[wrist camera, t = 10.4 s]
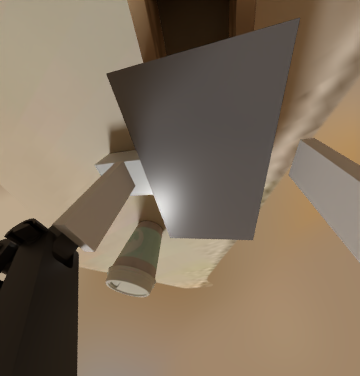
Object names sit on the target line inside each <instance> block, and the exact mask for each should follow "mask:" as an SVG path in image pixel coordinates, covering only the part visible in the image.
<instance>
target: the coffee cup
mask: <svg viewBox="0 0 360 376" xmlns="http://www.w3.org/2000/svg"><path fill="white" fill-rule="evenodd" d="M161 238H162V228H161V227H160V226H159V225H158V224H156V223H154V222H151V221H142V222H140V223H139V224H138V226H137V227H136V229H135V231H134V232H133V234H132V235H131V237H130V239H129V240H128V242H127V243H126V245H125V247H124V248H123V250H122V251H121V253H120V254H119V256H118V258H117V259H116V261H115V263H114V264H113V266H111V267H109V271H108V272H107V279H106V284H107V286H108V287H110V288H111V289H113V290H115V291H117V292H120V293H122V294H126V295H129V296H134V297H147V296H149V294H150V292H151V290H152V289H153V288H154V284H155V283H156V280H155V275H156V269H157V263H158V257H159V250H160V244H161Z"/></svg>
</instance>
